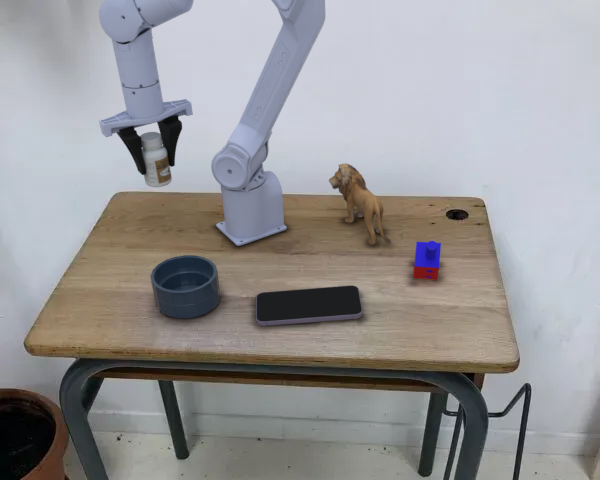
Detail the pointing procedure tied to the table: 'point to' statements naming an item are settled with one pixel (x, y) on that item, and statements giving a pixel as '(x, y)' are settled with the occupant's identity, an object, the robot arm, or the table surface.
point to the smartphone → (308, 305)
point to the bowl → (186, 286)
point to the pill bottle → (155, 160)
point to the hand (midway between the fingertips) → (156, 168)
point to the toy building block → (427, 260)
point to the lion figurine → (359, 199)
